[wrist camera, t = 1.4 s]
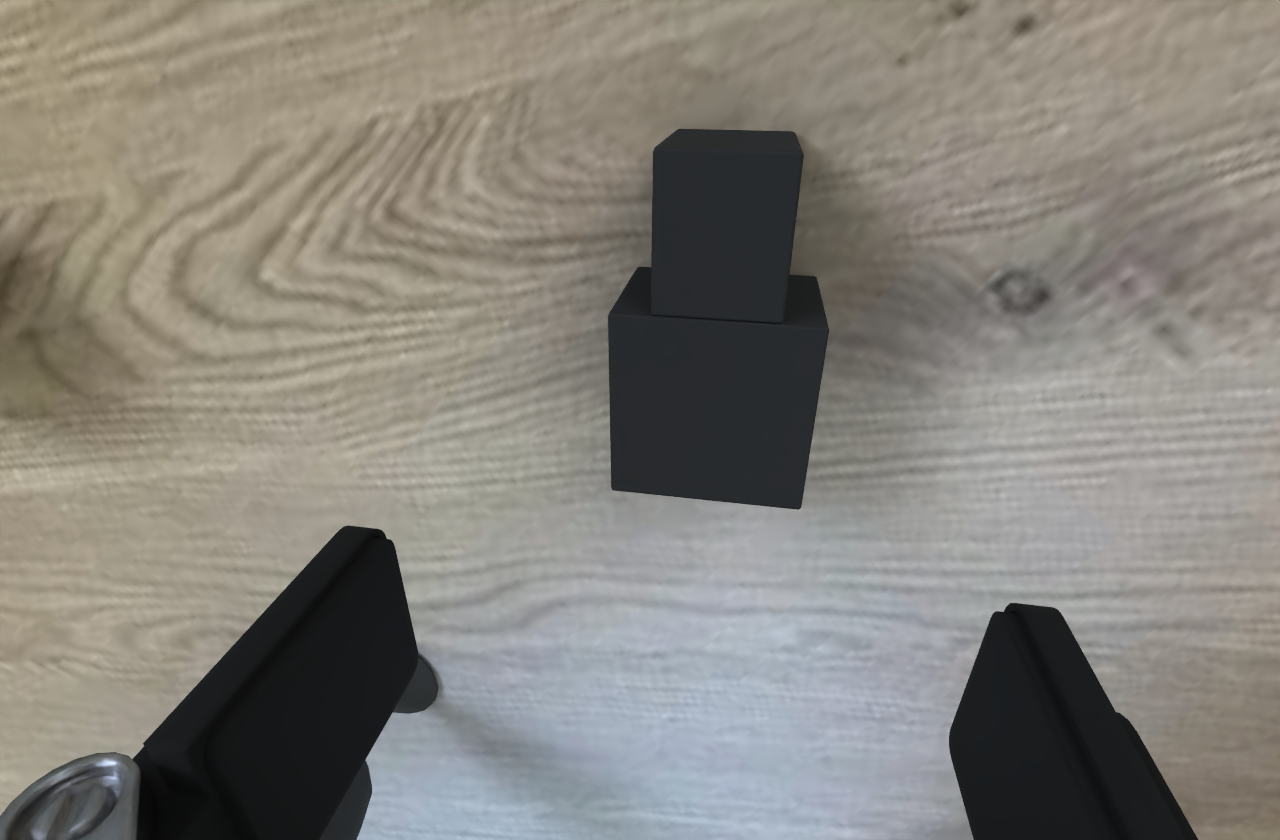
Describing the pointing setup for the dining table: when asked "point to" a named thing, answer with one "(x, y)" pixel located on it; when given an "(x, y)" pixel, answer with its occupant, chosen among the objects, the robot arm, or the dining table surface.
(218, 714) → the robot arm
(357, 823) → the sundae
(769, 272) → the pad
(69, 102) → the dining table surface
